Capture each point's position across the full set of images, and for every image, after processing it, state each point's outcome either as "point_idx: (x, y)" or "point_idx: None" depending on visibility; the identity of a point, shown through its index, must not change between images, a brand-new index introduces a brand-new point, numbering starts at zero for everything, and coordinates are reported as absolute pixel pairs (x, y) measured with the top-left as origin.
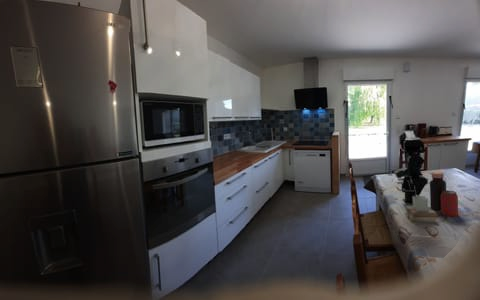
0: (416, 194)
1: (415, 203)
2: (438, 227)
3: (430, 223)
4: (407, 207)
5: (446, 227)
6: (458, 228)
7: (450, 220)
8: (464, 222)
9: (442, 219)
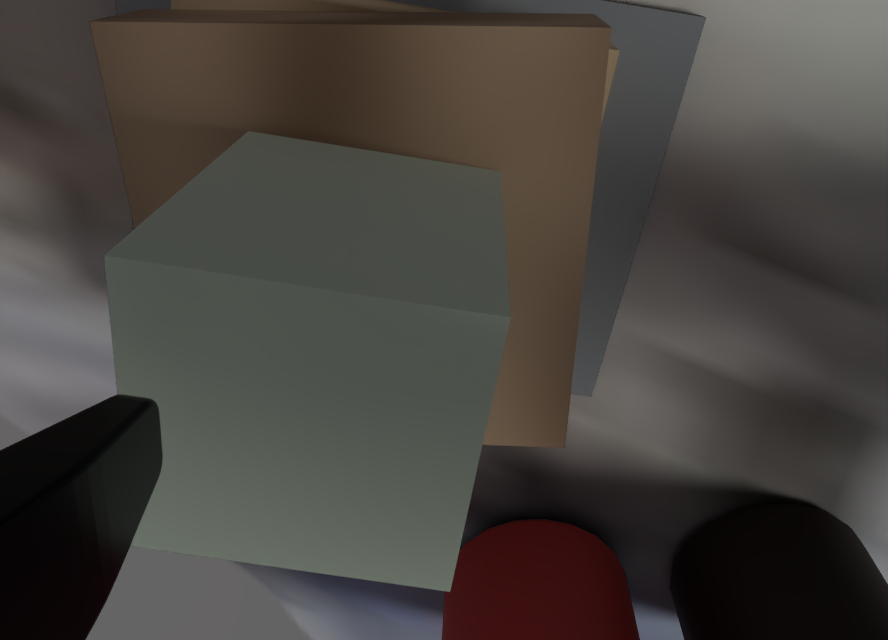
0: (74, 419)
1: (177, 195)
2: (54, 272)
3: None
4: (499, 35)
5: (80, 360)
6: None
7: None
8: (284, 581)
9: None
